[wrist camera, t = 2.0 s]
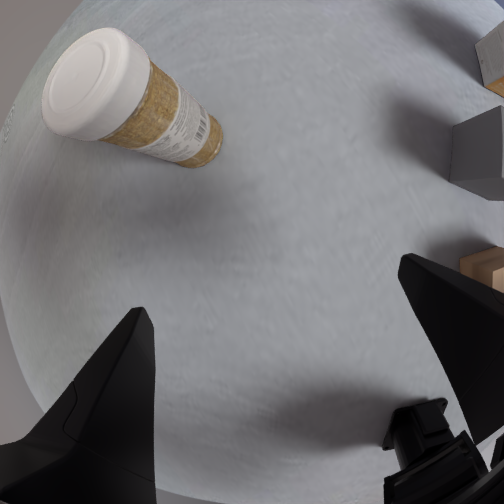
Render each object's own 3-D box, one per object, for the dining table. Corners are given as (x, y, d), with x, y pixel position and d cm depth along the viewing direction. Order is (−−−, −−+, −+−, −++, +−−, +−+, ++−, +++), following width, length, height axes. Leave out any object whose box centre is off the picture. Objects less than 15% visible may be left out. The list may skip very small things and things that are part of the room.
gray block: (488, 200, 17) (541, 202, 10) (448, 182, 17) (501, 177, 10) (492, 147, 16) (541, 137, 9) (452, 126, 16) (500, 105, 9)
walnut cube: (496, 296, 18) (526, 314, 13) (459, 312, 19) (488, 334, 14) (496, 245, 17) (530, 255, 12) (458, 258, 18) (492, 271, 13)
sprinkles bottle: (180, 109, 19) (66, 31, 6) (232, 120, 19) (147, 17, 6) (162, 162, 20) (24, 130, 7) (213, 176, 20) (93, 140, 7)
